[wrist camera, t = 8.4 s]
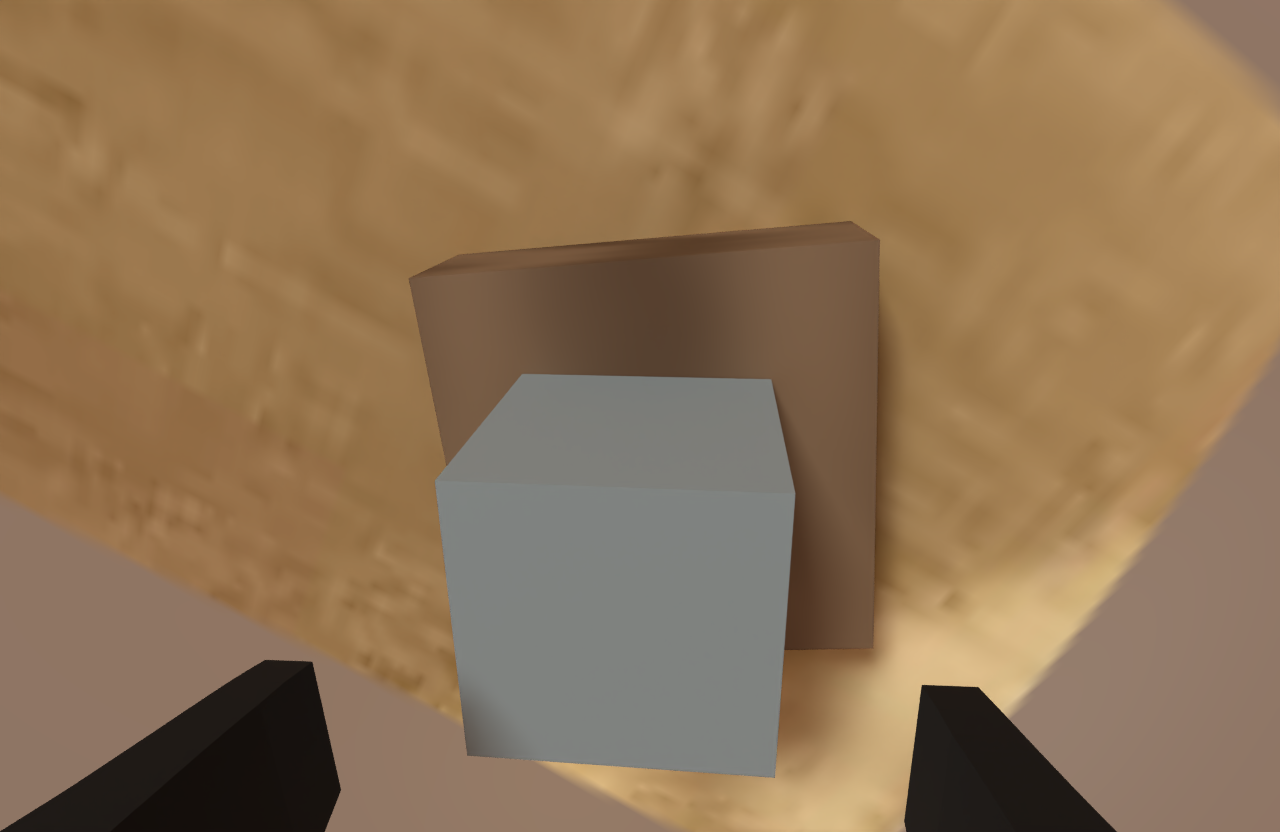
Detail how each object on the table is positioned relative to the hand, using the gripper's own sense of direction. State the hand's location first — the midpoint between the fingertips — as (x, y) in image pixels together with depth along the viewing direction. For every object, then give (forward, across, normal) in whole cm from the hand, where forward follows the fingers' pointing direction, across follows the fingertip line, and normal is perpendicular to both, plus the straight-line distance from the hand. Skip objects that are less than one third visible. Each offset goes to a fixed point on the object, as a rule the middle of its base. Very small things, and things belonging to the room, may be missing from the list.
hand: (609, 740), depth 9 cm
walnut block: (+11, 0, 0) cm, 11 cm away
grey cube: (+7, 0, 0) cm, 7 cm away
